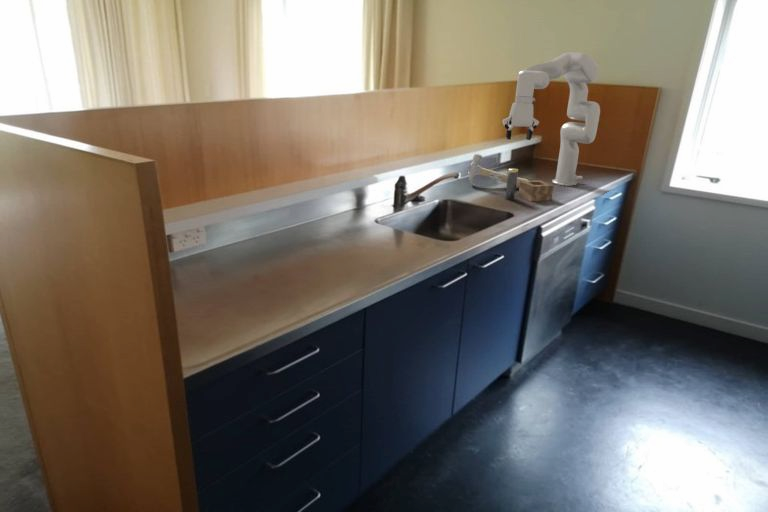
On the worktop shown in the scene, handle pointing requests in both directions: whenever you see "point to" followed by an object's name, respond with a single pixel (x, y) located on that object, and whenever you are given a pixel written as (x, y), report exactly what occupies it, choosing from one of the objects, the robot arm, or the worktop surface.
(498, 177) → the hammer
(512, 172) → the dark grey capped cylinder
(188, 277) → the worktop surface
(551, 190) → the socket block
